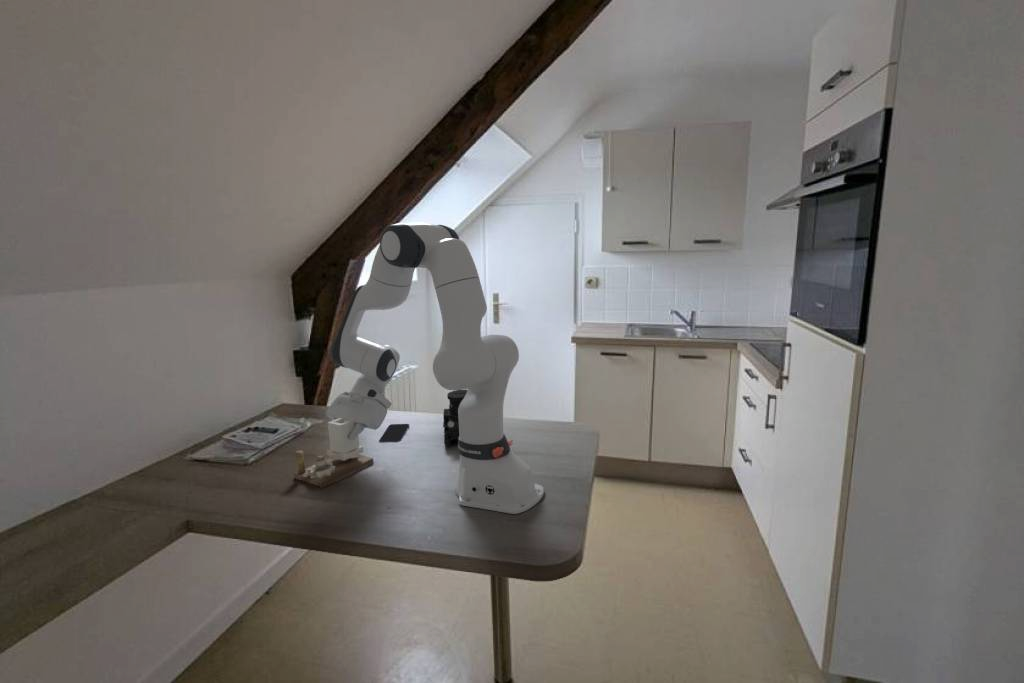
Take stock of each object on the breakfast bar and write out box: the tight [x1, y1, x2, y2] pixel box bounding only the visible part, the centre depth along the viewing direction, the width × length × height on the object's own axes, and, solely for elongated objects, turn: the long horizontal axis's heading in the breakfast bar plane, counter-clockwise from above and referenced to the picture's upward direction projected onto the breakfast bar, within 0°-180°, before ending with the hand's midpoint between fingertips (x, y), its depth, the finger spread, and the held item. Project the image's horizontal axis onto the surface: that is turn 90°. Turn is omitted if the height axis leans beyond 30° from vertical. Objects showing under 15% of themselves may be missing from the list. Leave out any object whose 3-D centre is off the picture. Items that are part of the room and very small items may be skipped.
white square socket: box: [326, 418, 364, 461], centre depth 143 cm, size 10×10×10 cm
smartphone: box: [378, 423, 410, 443], centre depth 168 cm, size 7×1×15 cm
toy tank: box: [442, 389, 468, 447], centre depth 161 cm, size 12×18×15 cm
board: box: [293, 450, 374, 489], centre depth 140 cm, size 12×18×8 cm
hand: (342, 437), depth 142 cm, fingers closed on white square socket, 5 cm apart
